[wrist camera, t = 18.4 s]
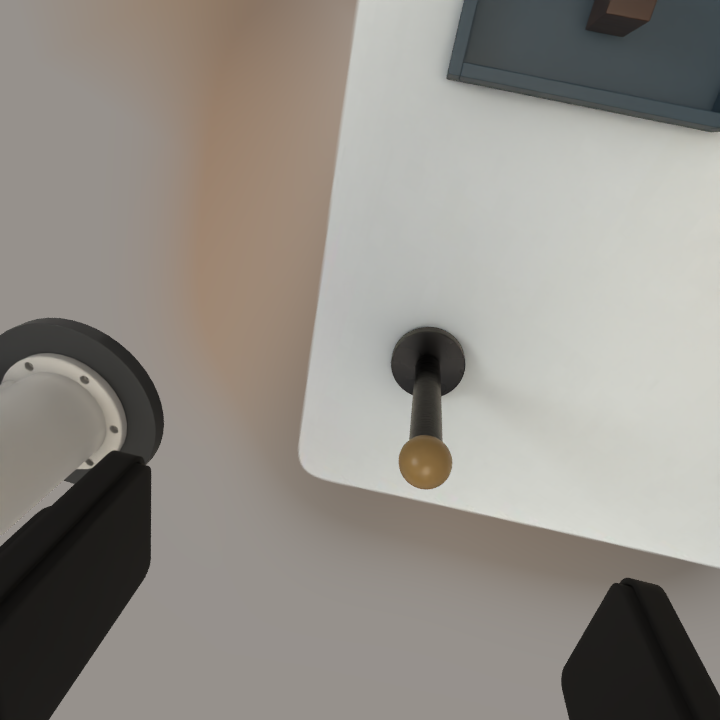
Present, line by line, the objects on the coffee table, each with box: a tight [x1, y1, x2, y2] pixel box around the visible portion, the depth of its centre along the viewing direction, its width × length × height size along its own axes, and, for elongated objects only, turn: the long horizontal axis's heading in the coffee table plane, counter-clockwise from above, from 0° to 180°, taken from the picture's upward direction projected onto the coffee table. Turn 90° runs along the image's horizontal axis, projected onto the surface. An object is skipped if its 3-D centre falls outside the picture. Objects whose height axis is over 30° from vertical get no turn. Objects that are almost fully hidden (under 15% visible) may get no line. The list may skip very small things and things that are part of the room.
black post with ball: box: [391, 327, 465, 489], centre depth 33 cm, size 6×6×16 cm
